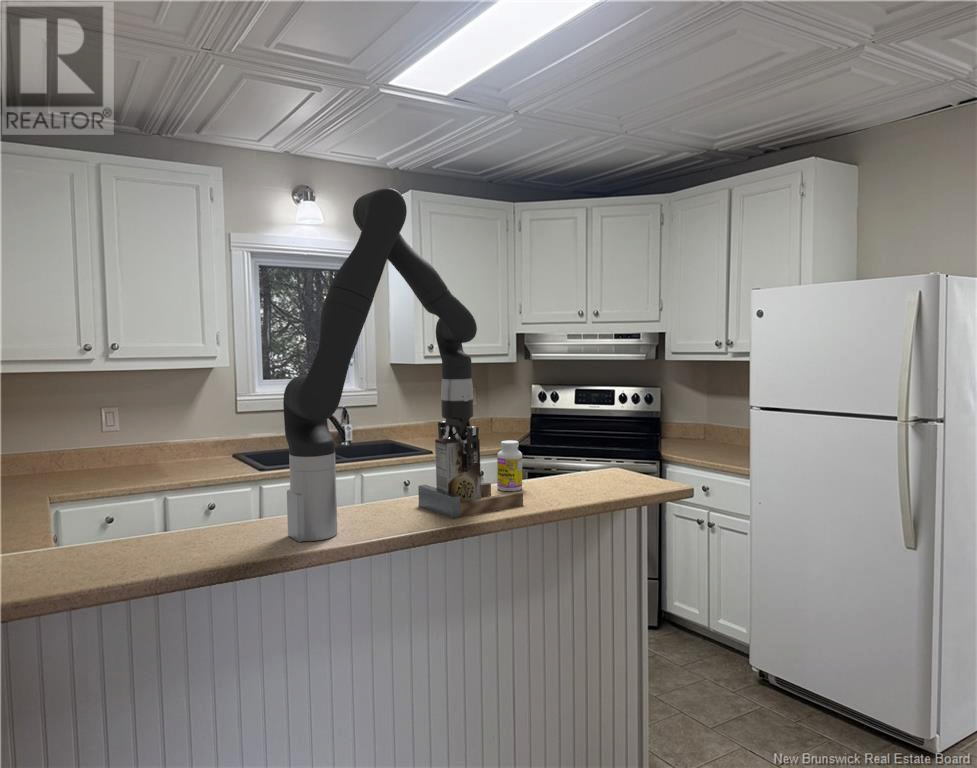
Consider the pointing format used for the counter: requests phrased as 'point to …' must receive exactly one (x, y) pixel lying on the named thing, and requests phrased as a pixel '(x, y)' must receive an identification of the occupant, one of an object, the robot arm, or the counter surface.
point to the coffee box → (457, 470)
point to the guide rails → (490, 502)
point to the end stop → (439, 501)
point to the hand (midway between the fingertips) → (458, 467)
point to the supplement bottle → (509, 466)
